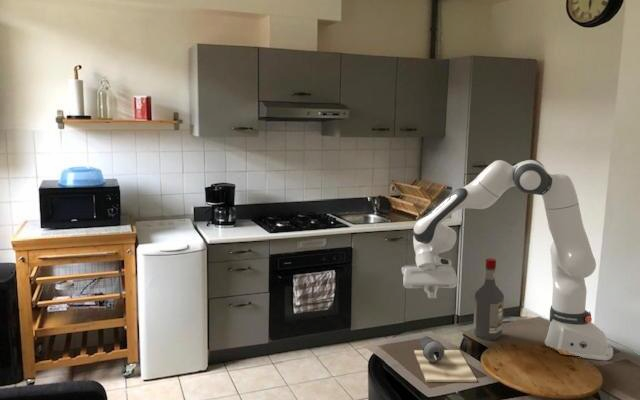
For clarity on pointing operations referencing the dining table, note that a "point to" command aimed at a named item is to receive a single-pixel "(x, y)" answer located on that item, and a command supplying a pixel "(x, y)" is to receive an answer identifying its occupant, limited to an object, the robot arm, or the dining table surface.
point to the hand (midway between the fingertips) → (432, 297)
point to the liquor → (488, 306)
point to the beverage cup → (432, 349)
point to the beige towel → (446, 368)
